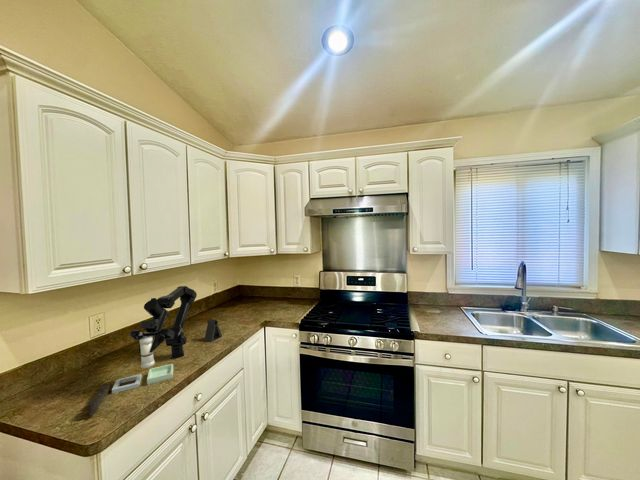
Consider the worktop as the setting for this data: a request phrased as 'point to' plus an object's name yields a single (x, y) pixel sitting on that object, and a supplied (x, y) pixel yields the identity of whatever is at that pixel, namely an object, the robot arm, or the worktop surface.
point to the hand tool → (98, 399)
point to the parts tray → (160, 374)
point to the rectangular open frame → (129, 386)
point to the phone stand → (212, 331)
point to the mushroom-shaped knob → (146, 352)
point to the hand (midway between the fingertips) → (145, 352)
